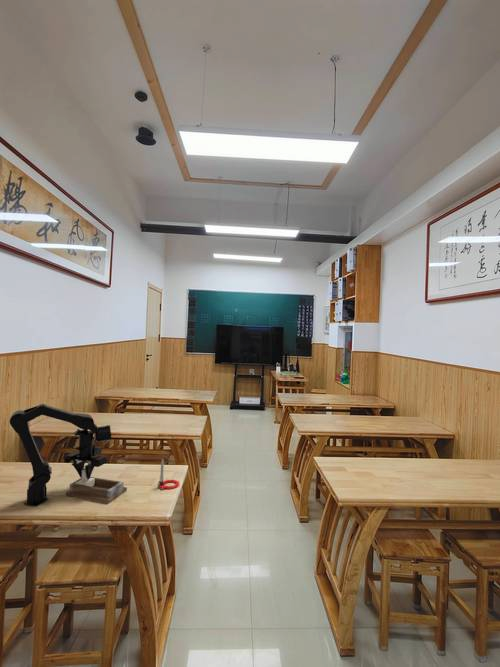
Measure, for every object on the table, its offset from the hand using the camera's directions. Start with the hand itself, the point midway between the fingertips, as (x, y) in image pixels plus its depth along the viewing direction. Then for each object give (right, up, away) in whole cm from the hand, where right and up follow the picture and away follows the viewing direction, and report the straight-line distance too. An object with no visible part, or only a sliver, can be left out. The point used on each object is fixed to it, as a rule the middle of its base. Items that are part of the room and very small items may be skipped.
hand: (85, 478), depth 147 cm
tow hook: (+36, -7, +7) cm, 37 cm away
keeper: (0, -4, 0) cm, 4 cm away
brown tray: (+6, -6, -2) cm, 8 cm away
